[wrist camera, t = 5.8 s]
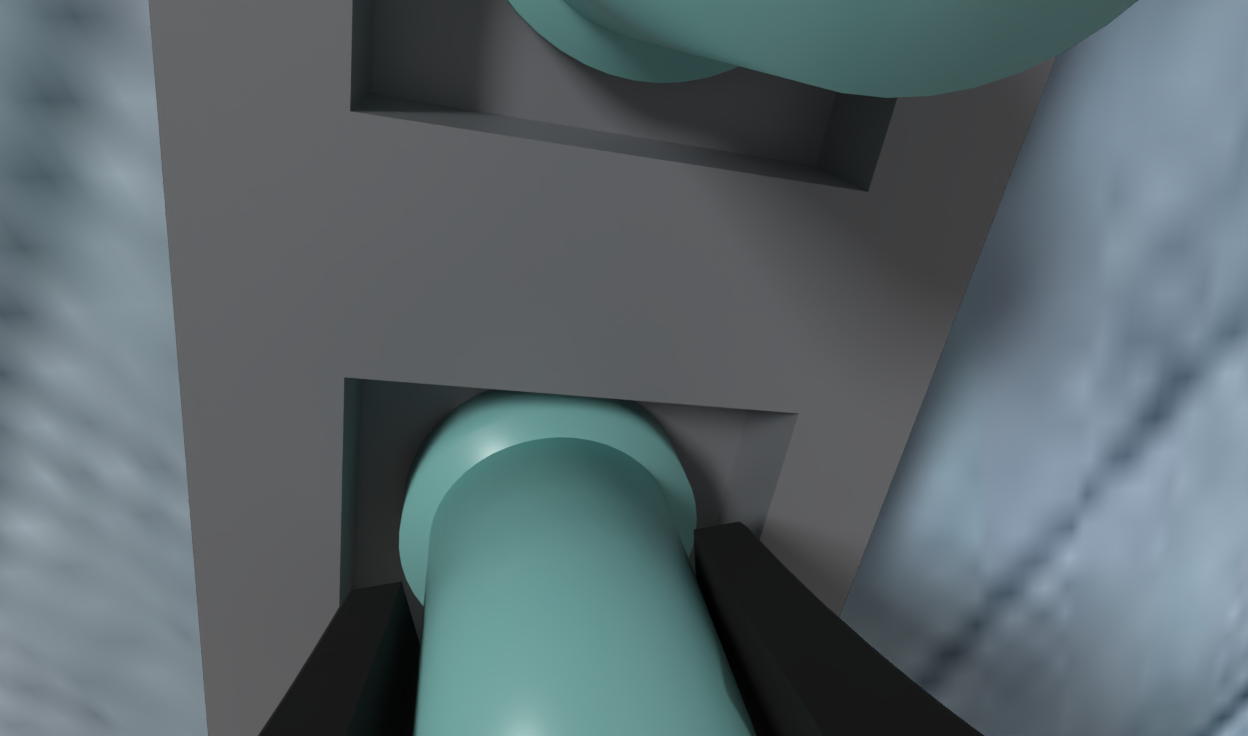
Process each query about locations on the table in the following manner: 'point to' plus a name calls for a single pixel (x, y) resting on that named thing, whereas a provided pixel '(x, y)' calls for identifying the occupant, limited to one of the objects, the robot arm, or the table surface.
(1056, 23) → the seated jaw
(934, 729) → the robot arm
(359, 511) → the housing
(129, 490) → the table surface
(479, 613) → the peg
